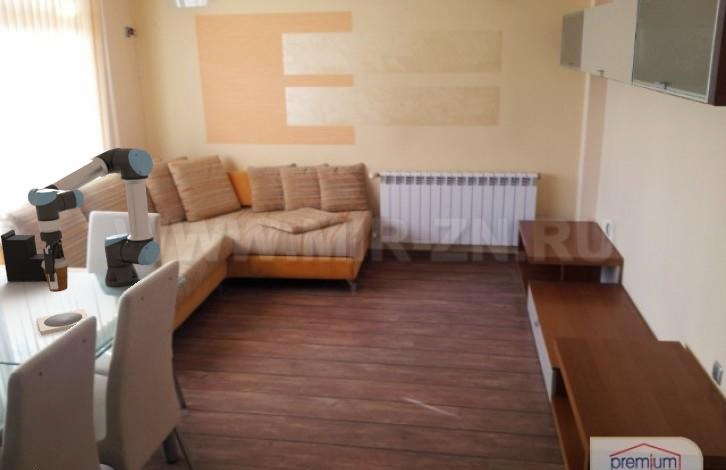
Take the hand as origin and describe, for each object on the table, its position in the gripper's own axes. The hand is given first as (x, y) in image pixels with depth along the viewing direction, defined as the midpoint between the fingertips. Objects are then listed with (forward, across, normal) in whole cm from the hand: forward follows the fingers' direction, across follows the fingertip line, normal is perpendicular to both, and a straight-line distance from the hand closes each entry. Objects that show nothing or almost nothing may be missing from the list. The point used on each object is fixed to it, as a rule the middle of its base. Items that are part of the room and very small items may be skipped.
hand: (58, 284), depth 238 cm
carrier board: (+16, 0, 0) cm, 16 cm away
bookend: (+17, -59, -31) cm, 69 cm away
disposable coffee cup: (+2, 0, 0) cm, 2 cm away
